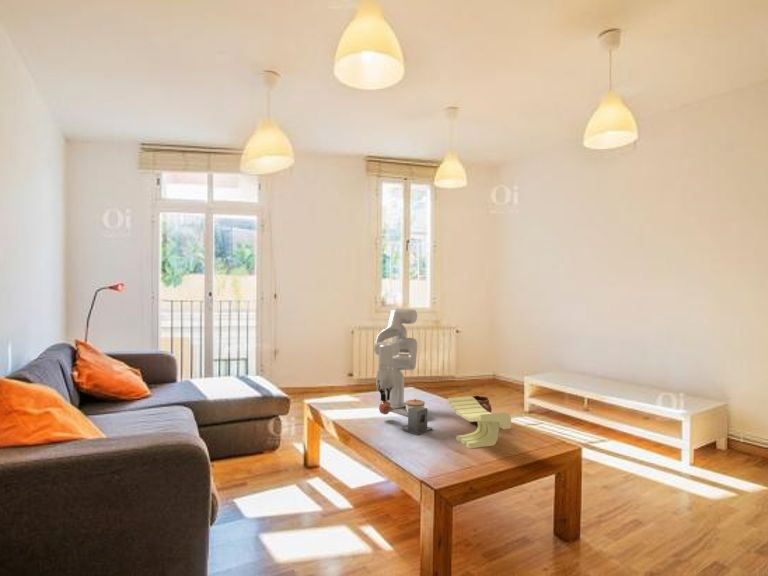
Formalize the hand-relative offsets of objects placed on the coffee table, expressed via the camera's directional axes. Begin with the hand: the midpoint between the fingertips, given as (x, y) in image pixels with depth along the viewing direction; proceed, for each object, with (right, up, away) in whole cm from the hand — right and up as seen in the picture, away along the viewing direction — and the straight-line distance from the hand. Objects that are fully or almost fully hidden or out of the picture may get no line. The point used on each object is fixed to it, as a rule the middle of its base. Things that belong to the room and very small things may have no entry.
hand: (385, 400), depth 247 cm
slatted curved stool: (+44, -12, -32) cm, 56 cm away
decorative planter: (+51, -12, -5) cm, 52 cm away
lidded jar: (+17, -11, +8) cm, 22 cm away
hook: (+6, -8, -6) cm, 12 cm away
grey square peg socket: (+17, -11, -17) cm, 26 cm away
